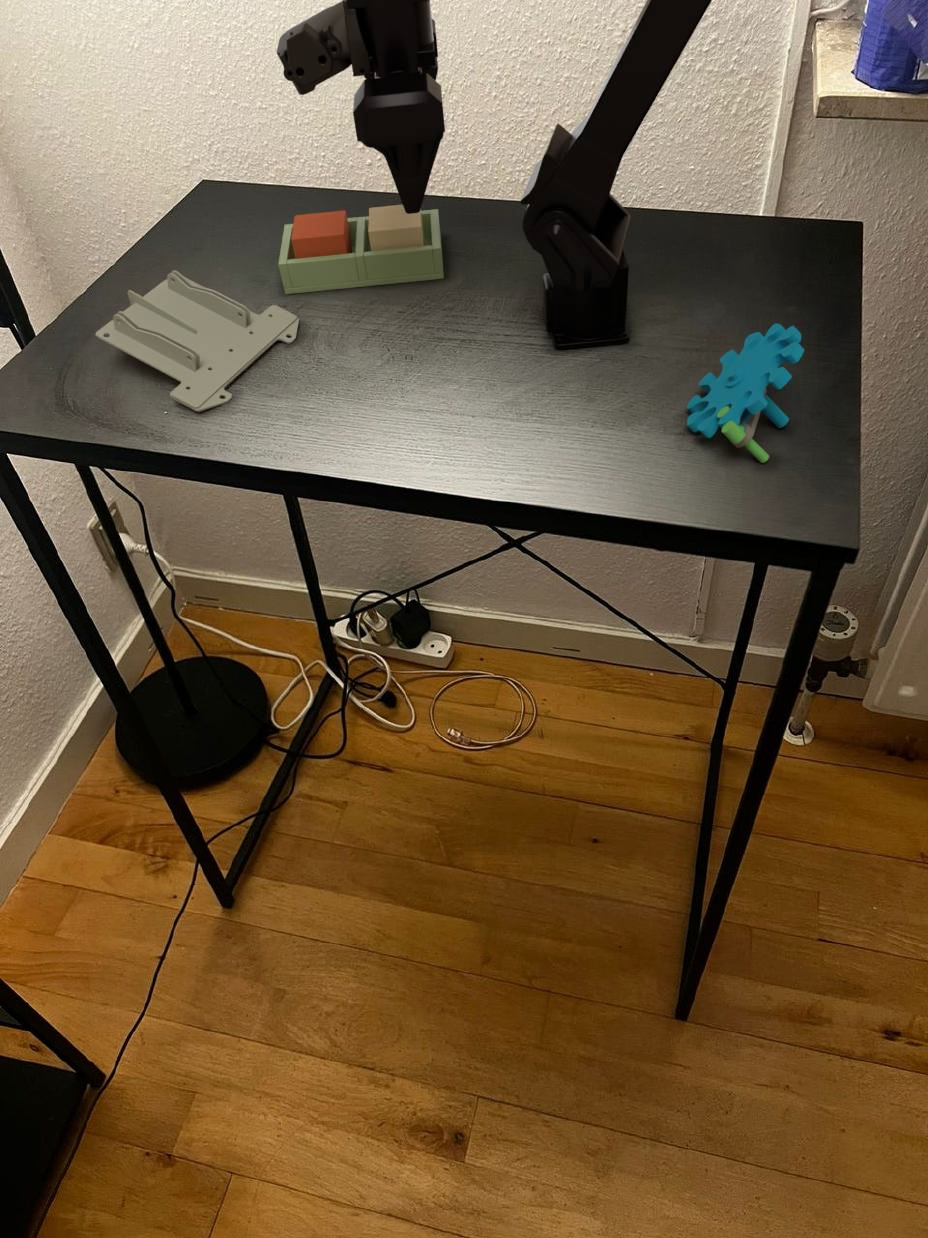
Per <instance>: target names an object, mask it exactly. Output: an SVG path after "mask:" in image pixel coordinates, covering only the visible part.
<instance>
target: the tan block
mask: <svg viewBox="0 0 928 1238" xmlns="http://www.w3.org/2000/svg"><path fill="white" fill-rule="evenodd" d="M421 211H422V208H421V209H420V212H418V213H412V214H407V213H406V212H405V209H404V207H403V204H395V205H385V206H376V207H375V206H374V207H369V208H368V216H369V227H368V234H369V240H370V246H371V251H380V250H390V249H400V248H410V247H420V246H425V241H424V232H423V223H422V215H421Z"/></svg>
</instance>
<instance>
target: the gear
mask: <svg viewBox="0 0 928 1238" xmlns="http://www.w3.org/2000/svg"><path fill="white" fill-rule="evenodd" d="M801 341H802V333H801V332H800V331H799V330H798V328H797V327H795V325H790V326H789V327H788V328H787V329H785V327H784V326H783V325H781V324H780V323H776V322H775V323H774V324H773V325H771V326H770V328H769V329H768V330H767V332H766V333H765V335H763V334H762V333H761V332H760V331H755V332H753V333H751V334H749V335H748V336H746V338H745V341H744V343H743V344H744V345H743V347H742V350H741V352H740V353H737V352H736V351H735V350H734V348H733V349H730V350H729V351H727V352H726V353H725V354H723V355H722V356H721V357H720V359H719V362H720V363H721V365H722V369H721V372H720V374H719V375H718V376H716V375H715V374H713V372H711V371H710V372H708V373H707V374H706V375H705V376H704V377H703V378H702V379H701V380H700V381H699V383H698V386H699V387H700V388H701V389H702V390H703V391H704V392H705V393H708V394H706V396H704V397H701V396H700V395H699V394H696V395H694V396H692V398H691V399H690V401H689V402H688V404H687V406H686V410H688V411H689V413H690V415H689V416H688V417H687V420H686V426H687V427H688V428H689V429H690V430H691V431H692V432H693V433H697V432H700V433H701V434H702V435H703V436H704V437H706V438H707V439H710V438H712V437H714V435H715V433H716V432H717V431H718V428H719V427H720V428H721V433H722V434H723V435H724V436H725V437H726V438H727V439H728V440H729V442H730V443H732V445H734V447H736V448H738V449H739V448H743V447H745V449H747V450H748V451H749V452H750V453H751V455H753V456H754V457H755V459H757V460H758V462H760V463H761V464H765V463H766V462H768V460H769V459H770V455H769V454H768V452H766V451H765V450H764V449H763V447H762V446H760V445H759V444H758V443H757V442H756V441H755V440H754V439H753V437H754V435H755V431H756V428H757V425H758V421H759V418H760V415H761V412H762V413H763V414H764V415H765V416H766V417H767V418H768V419H769V421H770V422H772V424H774V425H775V426H776V428H778V429H781V428H784V427H785V426H786V425H787V424H788V423H789V421H790V418H789V417H788V415H787V414H785V412H784V411H783V410H781V409H780V407H779V406H778V405H777V404H776V403H775V402H774V401H773V400H772V399H771V398H770V397H769V396H768V395H767V391H768V389H767V386H768V385H769V384H771V385H772V386H773V387H774V388H775V389H776V390H781V389H783V388H784V387H785V385H787V383H788V382H790V381H791V379H792V378H793V376H792V374H791V373H790V372H789V371H788V370H787V369H786V368H785V366H781V365H782V364H783V363H786V362H788V364H789V365H795V364H797V363H799V361H800V360H801V358H802V356H803V354H804V352H805V349H804V347H803V346H802V345H801V344H800V342H801Z"/></svg>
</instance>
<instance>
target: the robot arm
mask: <svg viewBox="0 0 928 1238" xmlns="http://www.w3.org/2000/svg"><path fill="white" fill-rule="evenodd" d="M712 1H713V0H646V2H645V3H644V6H643V7H642V9H641V11H640V13H639V15H638V17H637V19H636V21H635V23H634V25H633V27H632V29H631V30H630V32H629V35H628V36H627V38H626V40H625V42H624V44H623V46H622V48H621V49H620V51H619V53H618V56H617V58H616V59H615V61H614V63H613V65H612V66H611V69H610V71H609V73H608V75H607V76H606V78H605V81H604V82H603V84H602V86H601V88H600V90H599V92H598V94H597V96H596V98H595V100H594V102H593V103H592V105H591V107H590V109H589V111H588V113H587V114H586V116H584V118H583V119H582V120H581V122H580V123H578V125H577V126H576V127H575V129H573V130H572V132H571V133H570V132H569V131H568V130H567V129H566V128H564V127H563V126H562V125H561V124H560V123H556V124H555V127H554V128H553V129H554V130H553V132H552V134H551V136H550V139H549V141H548V144H547V147H546V149H545V152H544V154H543V157H542V158H541V159H539V161H538V162H537V163H536V164H535V165H534V167H533V169H532V172H531V174H530V177H529V180H528V182H527V184H526V186H525V189H524V191H523V194H522V196H521V199H520V202H519V203H520V204H521V205H524V206H525V205H527V206H526V208H525V212H524V214H523V218H522V225H521V226H522V231H523V233H524V236H525V239H526V241H527V243H528V244H529V245H530V246H531V248H532V249H533V250H534V252H536V253H538V254H539V255H541V257H542V260H543V263H544V265H545V268H546V270H547V273H544V274H543V275H542V308H543V312H542V313H543V315H542V316H543V320H544V321H543V322H544V325H545V330H546V332H548V334H549V333H550V334H551V338H552V344H553V347H554V349H556V350H562V349H563V350H564V349H574V348H575V349H576V348H586V347H595V346H606V345H614V344H615V345H616V344H625V343H629V342H630V337H631V334H630V331H629V328H628V325H627V310H628V309H627V308H628V291H629V290H628V289H629V276H630V275H629V274H630V273H629V272H630V264H629V261H628V259H627V255H626V252H625V250H624V246H625V242H626V238H627V234H628V230H629V227H630V226H629V225H630V222H631V214H630V212H628V211H627V209H625V207H624V206H623V205H621V203H620V202H619V201H618V200H617V199H616V198H615V197H614V196H613V194H611V192H612V188H613V185H614V182H615V179H616V177H617V174H618V170H619V168H620V165H621V162H622V159H623V157H624V154H625V153H626V151H627V149H628V148H629V146H630V145H631V143H632V141H633V139H634V137H635V136H636V134H637V132H638V131H639V129H640V127H641V126H642V123H643V121H644V120H645V118H646V117H647V115H648V113H649V111H650V110H651V108H652V106H653V104H654V102H655V101H656V99H657V97H658V96H659V94H660V92H661V90H662V88H663V86H664V85H665V83H666V82H667V80H668V78H669V76H670V74H671V73H672V71H673V69H674V67H675V65H676V64H677V63H678V60H679V59H680V57H681V56H682V54H683V51H684V50H685V48H686V47H687V45H688V43H689V42H690V39H691V38H692V36H693V34H694V32H695V31H696V29H697V27H698V25H699V24H700V22H701V20H702V19H703V16H704V15H705V13H706V11H707V10H708V8H709V6H710V5H711V3H712ZM431 7H432V5H431V0H342V1H339V2H338V3H336V4H334V5H331V6H329V7H326V8H325V9H323V10H321V11H319V12H317V13H315V14H314V15H312V16H310V17H309V18H306V19H305V20H303V21H301V22H300V23H297V24H296V25H294V26H292V27H291V28H290V29H288V30H287V31H285V32H284V33H283V34H281V36H280V37H279V40H278V44H277V48H276V52H275V53H276V55H277V57H278V59H279V60H280V62H281V65H282V66H283V76H284V79H285V80H287V81H289V82H292V84H293V86H294V88H295V89H296V92H297V93H298V94H299V96H304V95H307V94H309V93H312V92H313V91H315V90H316V87H317V86H318V85H320V84H322V83H324V82H325V81H327V80H328V79H331V78H333V77H334V76H336V75H338V74H340V73H342V72H344V71H345V70H347V69H348V68H350V67H351V68H352V75H353V77H364V80H363V82H362V83H361V84H360V86H359V87H358V89H357V90H356V92H354V94H353V107H352V115H353V116H352V117H353V122H354V129H355V134H356V141H357V142H360V143H361V144H362V145H363V146H365V147H367V148H371V149H374V150H375V151H377V152H379V153H380V154H381V155H383V157H384V159H385V161H386V164H387V166H388V169H389V172H390V175H391V177H392V179H393V182H394V185H395V188H396V190H397V193H398V196H399V198H400V202H401V205H403V207H404V209H405V212H406V213H407V214H412V213H418V212H420V209H421V210H422V205H423V202H424V199H425V195H426V192H427V188H428V184H429V181H430V177H431V174H432V171H433V167H434V165H435V161H436V158H437V154H438V151H439V148H440V144H441V141H442V140H443V138H444V134H445V132H446V125H445V115H444V104H443V103H444V101H443V94H442V93H443V92H442V85H441V84H440V83H438V81H437V77H438V73H439V63H438V58H439V52H438V42H437V41H438V40H437V39H438V38H437V30H436V21H435V19H433V18H432V8H431Z"/></svg>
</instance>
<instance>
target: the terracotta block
mask: <svg viewBox="0 0 928 1238" xmlns="http://www.w3.org/2000/svg"><path fill="white" fill-rule="evenodd" d="M347 215H348V214H347V211H346V209H345V210H336V211H334V210H333V211H325V212H314V213H306V214H296V215H294V220H293V224H294V225H293V232H292V238H291V241H292V246H293V250H294V254H295V259H300V258H310V257H320V256H330V255H340V254H349V253H352V244H351V238H350V233H349V227H348V221H347V218H348V217H347Z"/></svg>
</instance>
